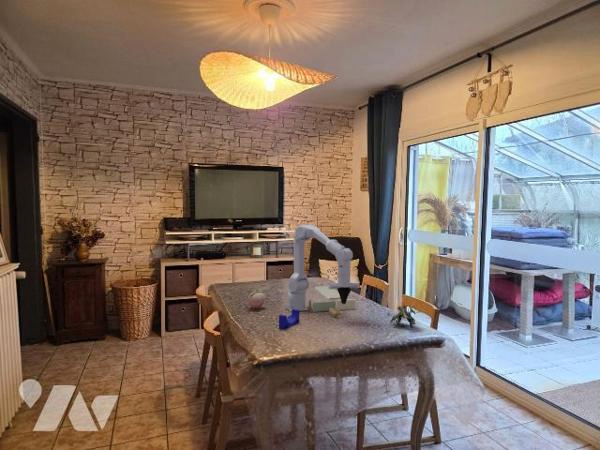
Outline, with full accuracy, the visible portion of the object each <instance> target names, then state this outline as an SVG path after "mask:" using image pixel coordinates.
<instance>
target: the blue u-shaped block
mask: <svg viewBox="0 0 600 450" xmlns="http://www.w3.org/2000/svg"><path fill="white" fill-rule="evenodd" d="M299 323H300V311H299V310H297V309H293V310H292V311H291V315H290V314H289V315H288V316H287V315H286V314H279V315H278V329H280V330H283V331H285V330H287V329H289V328H291V327H293V326H295V325H297V324H299Z"/></svg>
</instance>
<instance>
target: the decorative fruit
mask: <svg viewBox="0 0 600 450" xmlns="http://www.w3.org/2000/svg"><path fill="white" fill-rule="evenodd" d="M255 290H256V291H253V292H251V293H250V294H249V295H248V296H247V297H248V298H247V302H248V304H249V305H250V306H251V308H254V309H255V310H257V309H260V308H261V307H262V306H263V305H264V304H265V302H266V299H267V297H266V295H265V292H264V291H262V290H258V289H255Z"/></svg>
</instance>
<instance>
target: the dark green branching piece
mask: <svg viewBox="0 0 600 450" xmlns="http://www.w3.org/2000/svg"><path fill="white" fill-rule="evenodd" d="M396 307H397V310H398V311H399V312H398V313H397V314H396V315H393V316H392V315H391V313H390V312H387V317H388V318H389V316H390V317H391V320H390V321H389V324H391V323H392V322H394V323H395V324H394V326H393V328H396V326H397V325H399V324H400V323H401V321H402V319H405V320H406V321H408V323H409V326H410V328H414V326H416V324H417V323H416V319H415V318H414V317H413V316H412V313H413V314H414V315H416V311H415V310H414V309H413V308H412V307H409V310H410V312H409V311H407V309H405V307H403V306H401V305H399V306H396Z"/></svg>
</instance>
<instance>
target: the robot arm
mask: <svg viewBox="0 0 600 450" xmlns="http://www.w3.org/2000/svg"><path fill="white" fill-rule="evenodd" d="M294 234H295V235H294V237H293V274H292V275H291V276H290V277H289V283H288V289H289V291H290V292H287V294H286V308H285V309H287V310H288V311H290V312H292V310H293V309H297V310H299V312H300V311H301V312H303V311H304V312H305V311H309V308H308V307H307V306H306V305H307V304H306V297H307V296H306V295H307V293H306V292H307V290H308V289H309V286H310V283H309V280H308V276H307V274H306V273H305V243H307V241H308V240H309V239H311V238H314V239H316V240H318V241H319V242H320V243H322V244H323V245H324V246H325V249H326V250H327V251H328V252H329V253H331V254H332V255H334V256H335V260H336V261H337V283H332V284H331V283H330V284H328V286H329V289H335V290H336V291H338V293H339V295H340V298H341V299H340V300H341V303H342V304H346V301H347V299H349V298H348V297H349V295H350V293H351V291H352V290H351V289H352V288H353V289H354V288H358V289H359V287H360V283H358V282H351V263H352V262H351V261H352V260H353V258H354V253H353V251H352V250H351V248H349V247H345V245H342V244H341V243H339V241H338V240H337V239H330V237H329V238H328V237H327V236H326V234H324V233H323V231H321V230H320V229H319V228H318V227H317V226H315V225H314V224H306V225H305V224H301V225H298V226H297V227H296V228H295V229H294Z"/></svg>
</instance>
